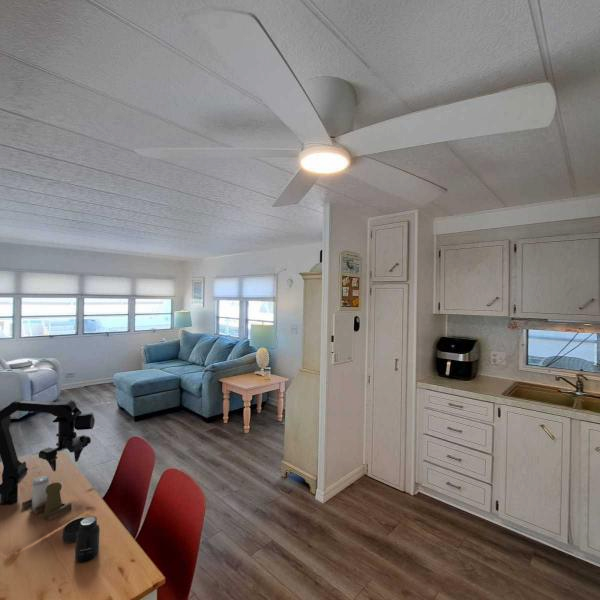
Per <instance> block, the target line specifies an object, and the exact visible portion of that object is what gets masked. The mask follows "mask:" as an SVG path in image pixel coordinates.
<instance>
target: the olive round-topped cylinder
mask: <svg viewBox="0 0 600 600" xmlns="http://www.w3.org/2000/svg"><path fill="white" fill-rule="evenodd" d="M62 487H63V486H62V484H61V482H58V481H57V482H51V483H49V485H48V486H47V488H46V494H47V499H46V505H45V511H44V516H48V514H49V513H51V512H53V511H55V510H57V509H58V508H60V507H62V502H63V501H62V496H61V490H62ZM61 501H62V502H61Z"/></svg>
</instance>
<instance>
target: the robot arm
mask: <svg viewBox="0 0 600 600" xmlns="http://www.w3.org/2000/svg"><path fill="white" fill-rule="evenodd" d="M16 412H28V413H29V412H31V413H45V414H50V415H52V416H54V417H56V418H54V420H52V423H58V424H57V425H58V429H57V430H58V432H57V433H56V437H57V443H55V444H56V445H55V446H56V447H55V448H53V447H50V446H49V447H47V448H44V449H41V450H40V451H39V453H38V458H39V459H42V460H45V461H46V462H47V463H48V465H49V466H50V468H51V470H52V471H53V472H56V470H57V459H58V456H57V455H58V453H59V452H61V451H65V450H67V451H69V453H74V454H73V455H74V461H75V463H77V462H78V461H79V460H80V457H81V454H82V452H83V450H84V449H85V448H86V447H87V446H89V444H91V442H92V439H91V436H88V435H84V434H83V435H80V436H78V434H77V431H86V430H93V428H94V427H95V420H96V419H95V416H94V413H93V412H89V413H82V411H81V410H80V409H79V407H78V406H77V403H76V402H75V401H74V400H69V399H68V400H61V401H54V402H52V401H50V402H49V401H41V400H39V401H38V400H28V399H27V400H26V399H22V398H20V399H19V398H18V399H16V400H15V401H11V403H10V404H8V405H7V406H5V407H4V408H0V459H1V462H2V466H3V469H2V473H1V482H2V483H0V505H1V506H9V505H10V506H11V505H13V504H15V503H17V502H18V498H19V496H18V495H19V491H18V489H19V484H20V483H22V481H23V480H24V479H25V477H26V476H27V475H28V471H29V468H28V467H27V461H23V462H21V461H20V460H19V458H18V454H17V453H16V448H15V446H14V442H13V441H14V440H13V438H12V434H11V431H10V427H11V421H12V419H11V416H12V415H13V414H15V413H16ZM75 430H77V431H75Z"/></svg>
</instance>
